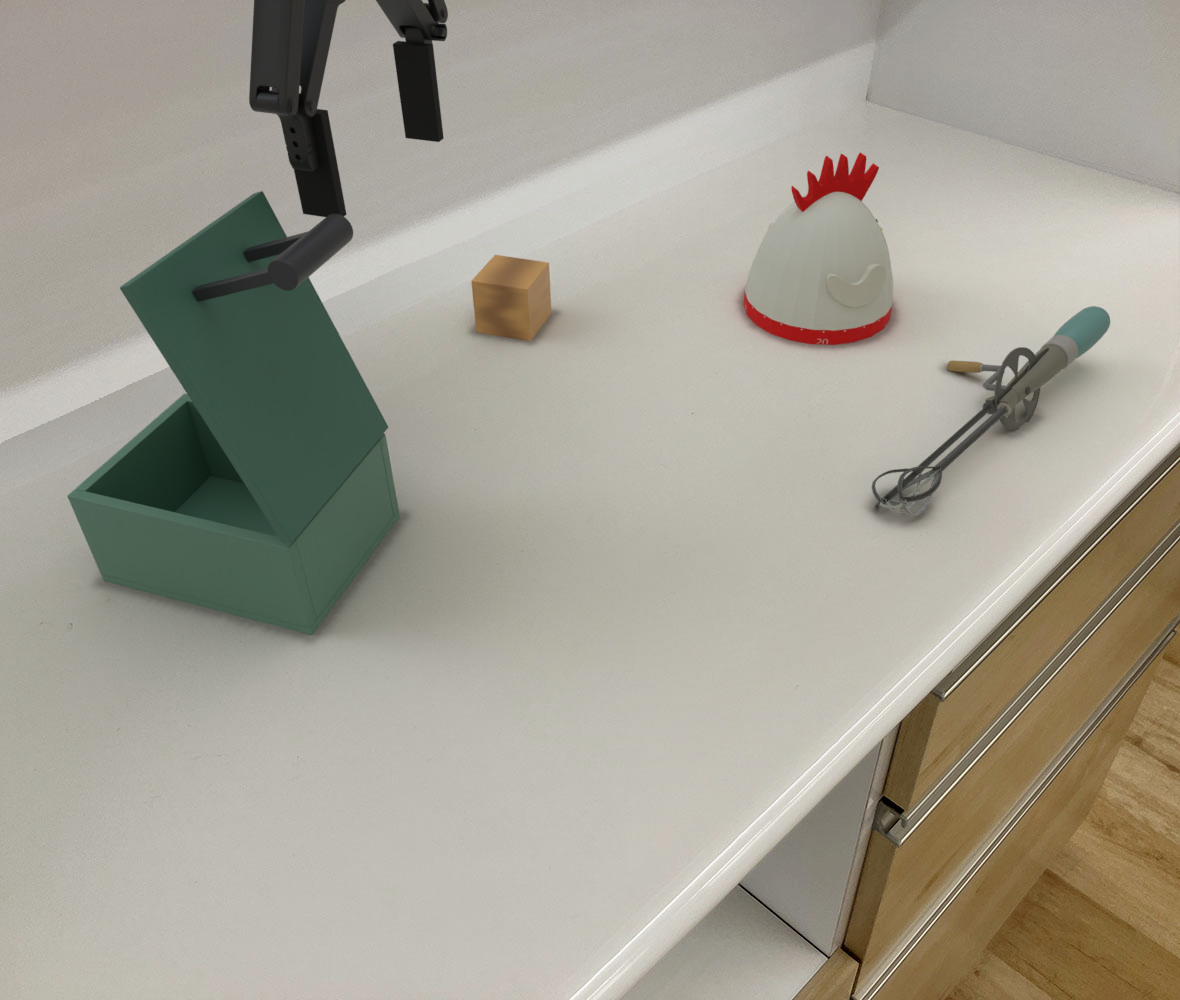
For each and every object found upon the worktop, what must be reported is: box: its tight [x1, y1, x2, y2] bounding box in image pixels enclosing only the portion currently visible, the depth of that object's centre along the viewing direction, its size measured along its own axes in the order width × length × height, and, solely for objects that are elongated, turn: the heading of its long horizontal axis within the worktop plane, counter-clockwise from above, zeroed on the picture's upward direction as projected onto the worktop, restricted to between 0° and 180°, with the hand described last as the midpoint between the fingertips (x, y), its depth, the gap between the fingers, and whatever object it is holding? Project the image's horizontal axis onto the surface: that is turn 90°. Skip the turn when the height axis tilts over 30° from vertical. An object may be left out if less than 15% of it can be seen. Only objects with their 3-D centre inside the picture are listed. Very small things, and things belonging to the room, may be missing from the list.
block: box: [470, 254, 552, 342], centre depth 98 cm, size 6×6×6 cm
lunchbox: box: [67, 393, 401, 636], centre depth 73 cm, size 17×13×8 cm
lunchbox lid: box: [119, 190, 389, 543], centre depth 62 cm, size 17×13×8 cm
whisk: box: [871, 305, 1111, 516], centre depth 85 cm, size 11×32×7 cm, turn 132°
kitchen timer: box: [743, 152, 894, 346], centre depth 96 cm, size 14×14×15 cm
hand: (378, 174), depth 71 cm, fingers open, 13 cm apart
